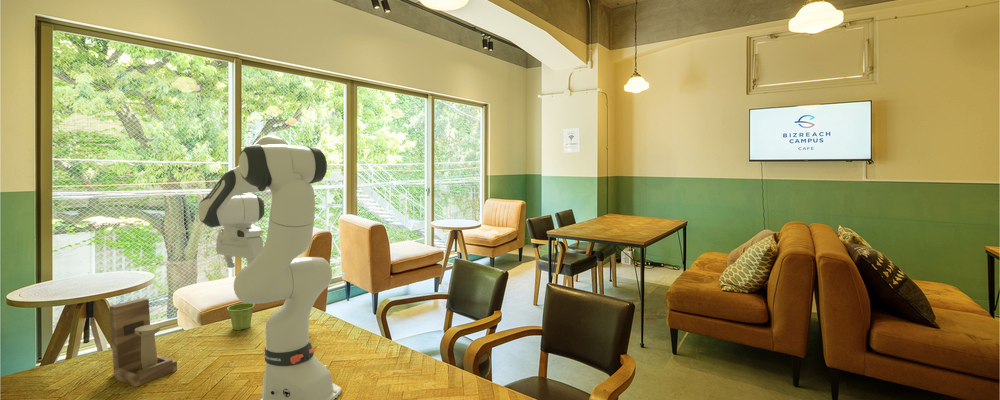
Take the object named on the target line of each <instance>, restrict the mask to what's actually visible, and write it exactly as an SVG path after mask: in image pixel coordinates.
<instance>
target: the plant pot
mask: <svg viewBox="0 0 1000 400" xmlns="http://www.w3.org/2000/svg"><path fill="white" fill-rule="evenodd" d="M255 305H256V304H245V303H243V302H240V303H235V304H232V305H230V306H227V308H226V309H227V311H228V314H229V317H230V321H231V325H232V330H235V331H241V330H246V329H249V328H250V327H251V323H252V316H253V311H254V308H255Z"/></svg>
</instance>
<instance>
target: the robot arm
mask: <svg viewBox="0 0 1000 400" xmlns="http://www.w3.org/2000/svg"><path fill="white" fill-rule="evenodd" d="M327 161H328V160H327V156H326V155H325V154H324V152H323V151H322V150H321V149H319V148H316V147H313V146H307V145H306V146H300V145H289V144H288V142H287V141H286V140H284V139H283V138H282V137H279V136H275V135H265V136H262V137H260V138H259V139H258V140H257V141H256V142H254V144H252V145H247V146H245V147H243V148H242V150H241V151H240V153H239V157H238V165H237V166H236V167H234V168H232V169H230V170H228V171H227V172H225V173H223V175H221V178H219V180H218V181H217V182H216V184H215V185H214V186H213V188H212V189H211V191H210V192H209V193H208V194H207V195H206V196H205V197H203V198H202V199H201V201H200V202H199V205H198V208H197V213H198V219H199V221H200V222H201V223H203V225H205V226H207V227H209V228H217V227H221V226H223V227H222V228H220V230H219V231H218V235H217V237H216V246H215V249H216V250H215V251H216V253H217V255H219V256H220V255H223V256H224V260H225V262H226V266H227V268H229V269H232V268H235V265H236V264H235V261H233V257H234V258H235V257H236V258H243V259H245V260H246V265H244V267H242V268H241V269H240V270H239V271H238V272H237V273H236V275H235V278H234V281H233V291H234V295H235V296H236V297H237V299H238V300H239V301H240V302H241V303H245V304H254V305H256V304H258V305H259V304H267V303H272V302H277V301H283V300H285V301H284V303H283V304H282V305H281V307H280V308H277V310H275V311H274V312H273V313H272V314H271V315H269V317H268V319H267V321H266V322H265V340H266V341H265V344H266V346H265V348H264V354H263V355H264V361H265V364H266V365H265V370H264V373H263V375H262V376H263V377H262V390H261V398H260V400H335V398H336V399H337V398H338V397H339V396H340V395H341V394H342V390H343V388H342V387H341V386H339V385H337V384H336V383H333V377H332V373H331V371H330V370H329V368H328V365H326V364H323V363H322V362H321V361H320V360H319V358H318V357H316V355H315V352H316V351H317V350H316V348H317V347H316V346H314V347H313V346H312V343H311V341H310V337H309V335H310V334H309V333H310V332H309V329H310V328H309V327H310V317H311V313H312V312H311V311H312V309H313V306H314V304H315V303H316V301H317V299H318V298H319V296H320V295H321V294H322V292H324V290H326V289H327V287H328V286H330V284H331V281H332V279H333V270H332V267H331V264H330V263H329V262H328V260H326V259H325V258H324V257H321V256H320V257H319V256H304V257H299V256H300V255H302V254H303V253H304V252H306V251H307V250H308V249H309V248H310V246H311V244H312V240H313V233H314V232H313V231H314V224H315V214H316V199H315V191H314V187H313V186H312V185H311V184H315V183H318V182H321V181H322V180H323V179H324V178H325V176H326V174H327V171H328V169H327V168H328V162H327ZM265 191H269V192H270V193H271V203H270V204H271V205H270V208H269V209H270V210H269V221H268V228H267V234H266V239H265V243H264V240H263V237H262V236H264V235H263V233H264V231H263V229H261V228H260V227H258V226H256V225H255V223H257V222H259V221H260V220H261V219H263V217H264V216H265V203H264V200H263V199H262V198H261V197H259V196H257V195H255V194H254V193H259V192H265ZM253 223H254V224H253ZM338 395H339V396H338Z"/></svg>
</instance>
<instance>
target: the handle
mask: <svg viewBox="0 0 1000 400" xmlns="http://www.w3.org/2000/svg"><path fill="white" fill-rule="evenodd" d="M160 330H161V327H160V325H158V324H150V325H144V326H140V327H138V328H136V329H135V333H136V334H137V335H139V336H141V364H142V369H145V368H147V367H150V366H153V365H155V364H157V355H158V352H157V343H156V335H155V334H157V333H159V331H160ZM142 369H141V370H142Z"/></svg>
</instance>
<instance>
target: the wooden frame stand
mask: <svg viewBox="0 0 1000 400" xmlns="http://www.w3.org/2000/svg"><path fill="white" fill-rule="evenodd" d="M108 308H109V309H108V310H109V321H110V335H111V338H110V339H111V349H112V350H111V351H112V352H111V353H112V362H113V363H112V365H113V375H114V379H115V380H116V381H119V382H122V383H125V384H127V385H130V386H131V387H135V388H136V387H139V386H141V385H143V384H146V383H149V382H151V381H154V380H157V379H159V378H161V377H163V376H167V375H169V374H172V373H173V372H176V371H178V361H177V360H174V359H171V358H170V357H169V358H168V357H165V356H163V355H159V354H157V364H155V365H153V366H150V367H147V368H145V369H142V364H141V336H139V335H137V334H136V333H135V329H136V328H138V327H140V326H144V325H151V316H150V300H149V299H148V298H145V297H141V298H137V299H133V300H129V301H126V302H125V301H124V302H121V303H117V304H113V305H109V307H108ZM134 372H136V373H134Z"/></svg>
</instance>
